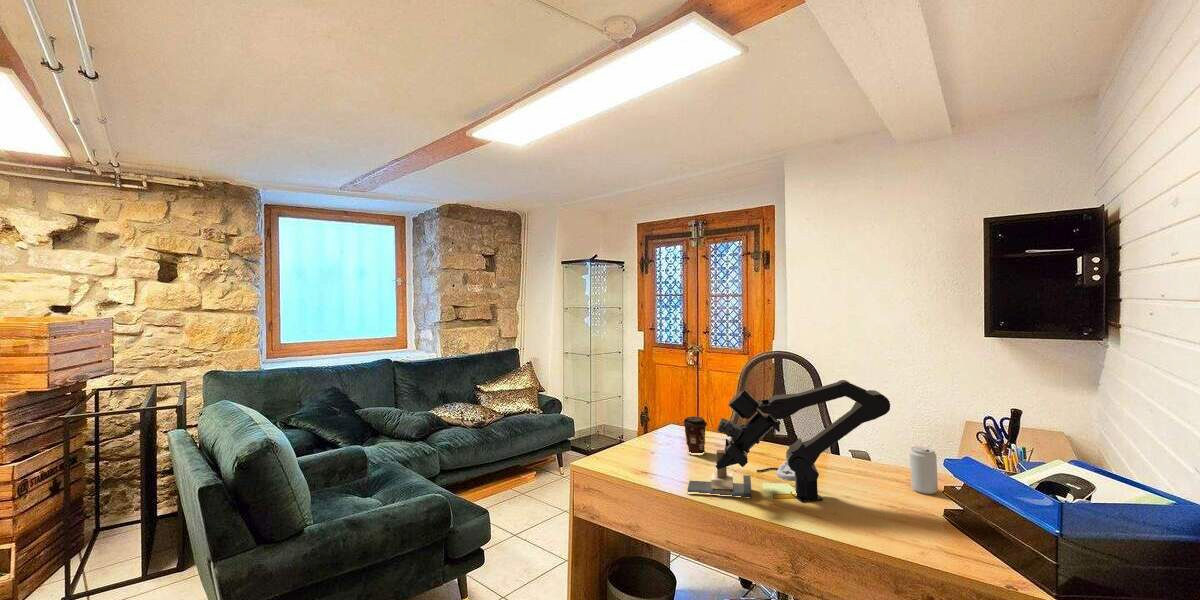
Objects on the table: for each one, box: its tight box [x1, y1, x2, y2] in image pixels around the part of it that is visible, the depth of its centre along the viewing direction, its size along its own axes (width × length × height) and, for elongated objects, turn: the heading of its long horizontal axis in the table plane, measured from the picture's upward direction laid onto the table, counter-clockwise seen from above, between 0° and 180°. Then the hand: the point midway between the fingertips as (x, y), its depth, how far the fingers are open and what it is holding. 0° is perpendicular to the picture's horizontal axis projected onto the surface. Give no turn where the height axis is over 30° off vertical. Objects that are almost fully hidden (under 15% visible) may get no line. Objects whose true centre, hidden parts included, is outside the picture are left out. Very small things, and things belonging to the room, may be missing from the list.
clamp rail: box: [687, 474, 753, 499], centre depth 147 cm, size 18×7×4 cm, turn 75°
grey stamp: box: [710, 449, 734, 490], centre depth 147 cm, size 6×6×10 cm
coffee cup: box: [683, 415, 708, 453], centre depth 183 cm, size 9×8×13 cm
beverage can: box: [909, 446, 939, 495], centre depth 142 cm, size 6×6×12 cm
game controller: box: [756, 460, 795, 481], centre depth 162 cm, size 15×13×2 cm
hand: (717, 466), depth 147 cm, fingers closed on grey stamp, 3 cm apart
